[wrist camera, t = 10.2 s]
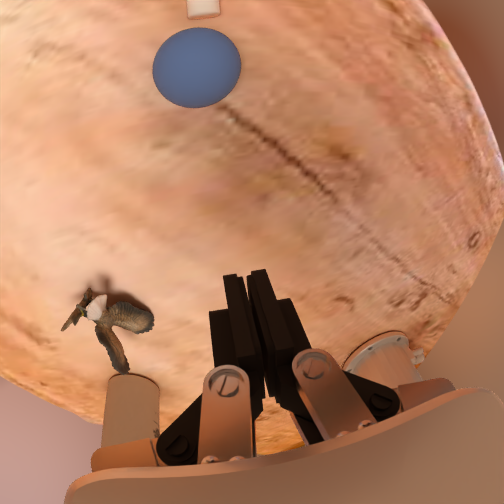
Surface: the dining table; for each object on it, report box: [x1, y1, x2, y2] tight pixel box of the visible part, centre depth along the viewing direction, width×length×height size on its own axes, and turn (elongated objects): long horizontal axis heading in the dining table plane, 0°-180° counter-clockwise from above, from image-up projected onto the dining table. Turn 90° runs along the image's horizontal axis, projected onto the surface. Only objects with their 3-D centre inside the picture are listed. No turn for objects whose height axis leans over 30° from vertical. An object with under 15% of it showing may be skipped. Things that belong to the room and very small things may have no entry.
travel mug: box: [101, 375, 160, 448], centre depth 30 cm, size 8×8×18 cm
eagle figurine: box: [61, 288, 154, 375], centre depth 27 cm, size 8×7×9 cm
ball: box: [153, 28, 241, 108], centre depth 16 cm, size 6×6×6 cm
